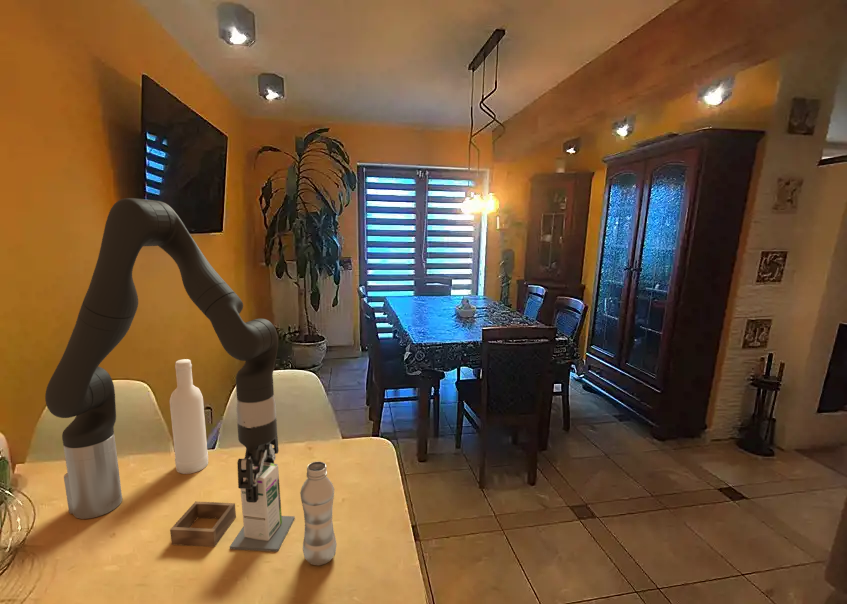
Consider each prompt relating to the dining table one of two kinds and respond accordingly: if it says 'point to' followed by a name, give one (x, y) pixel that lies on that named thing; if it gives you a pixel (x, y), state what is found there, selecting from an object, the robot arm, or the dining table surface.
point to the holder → (201, 536)
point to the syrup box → (263, 505)
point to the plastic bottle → (318, 515)
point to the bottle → (188, 422)
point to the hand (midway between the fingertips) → (261, 488)
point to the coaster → (262, 545)
